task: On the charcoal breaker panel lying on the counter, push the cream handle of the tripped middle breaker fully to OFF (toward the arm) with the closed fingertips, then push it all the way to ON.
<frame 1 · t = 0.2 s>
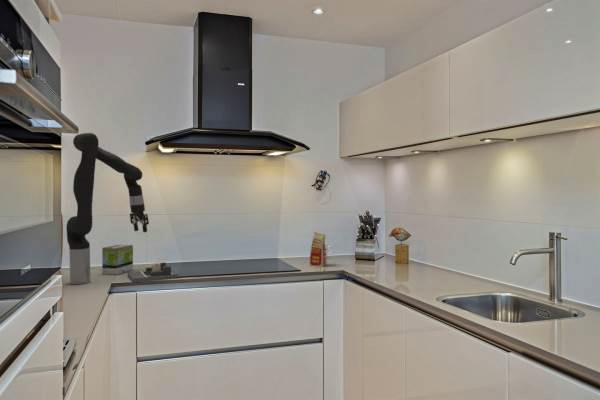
hand: (140, 231, 257), 22 cm above the worktop, tool pointing down, fingers open, 8 cm apart
red food bag: (318, 265, 269), on the worktop
breaker panel: (152, 277, 239), on the worktop
tea box: (118, 272, 255), on the worktop
tripped breaker: (156, 268, 240), point 5 cm above the worktop, slide at 4.0 cm
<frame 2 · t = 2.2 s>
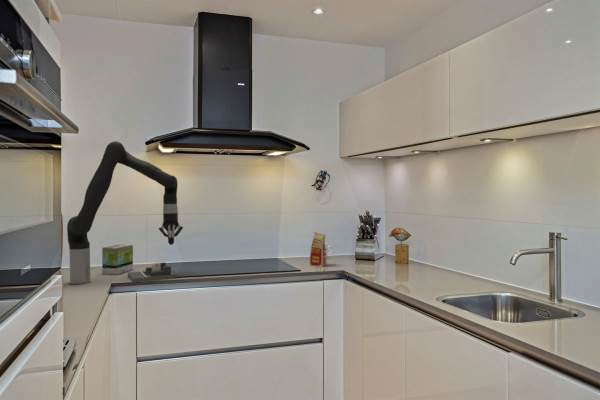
hand: (171, 244, 243), 17 cm above the worktop, tool pointing down, fingers closed
nothing on the worktop moved.
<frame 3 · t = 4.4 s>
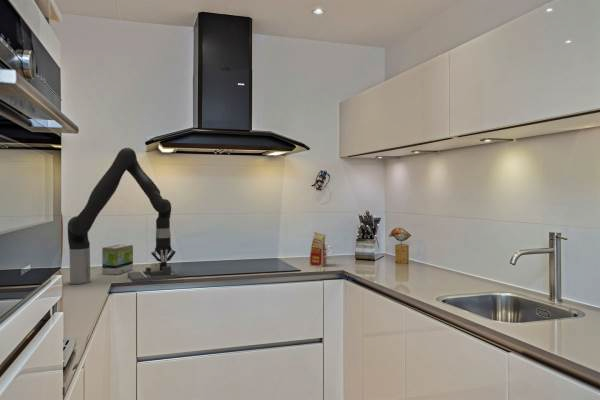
hand: (163, 268, 242), 4 cm above the worktop, tool pointing down, fingers closed
tripped breaker: (155, 268, 239), point 5 cm above the worktop, slide at 3.5 cm, touching gripper
everything else where it was.
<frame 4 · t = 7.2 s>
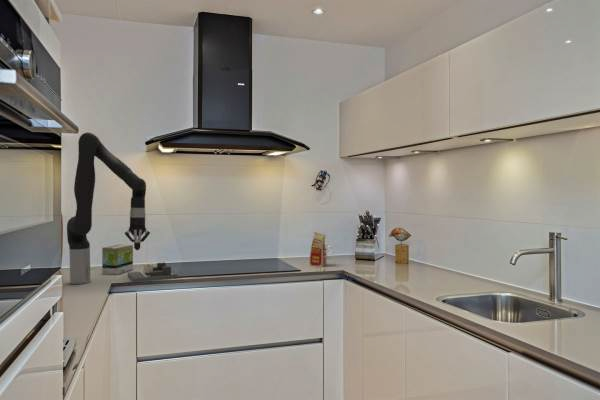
hand: (137, 249, 234), 15 cm above the worktop, tool pointing down, fingers closed
tripped breaker: (148, 268, 238), point 5 cm above the worktop, slide at 0.0 cm
everything else where it was.
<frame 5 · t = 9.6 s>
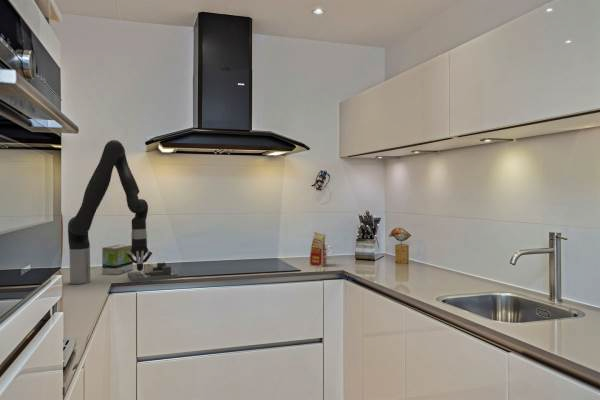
hand: (139, 270, 236), 4 cm above the worktop, tool pointing down, fingers closed
tripped breaker: (148, 268, 238), point 5 cm above the worktop, slide at 0.0 cm, touching gripper
everything else where it was.
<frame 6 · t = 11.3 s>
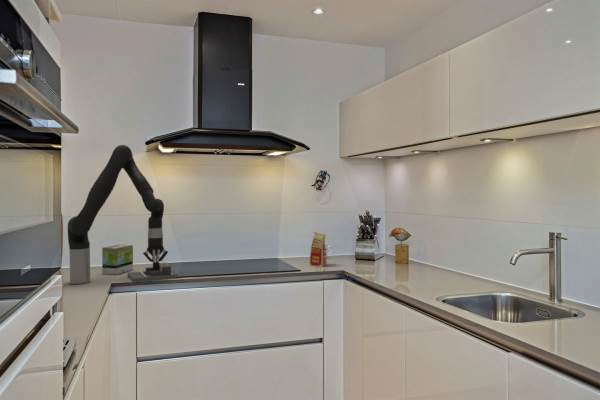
hand: (155, 269, 239), 4 cm above the worktop, tool pointing down, fingers closed
tripped breaker: (164, 267, 242), point 5 cm above the worktop, slide at 8.1 cm, touching gripper
everything else where it was.
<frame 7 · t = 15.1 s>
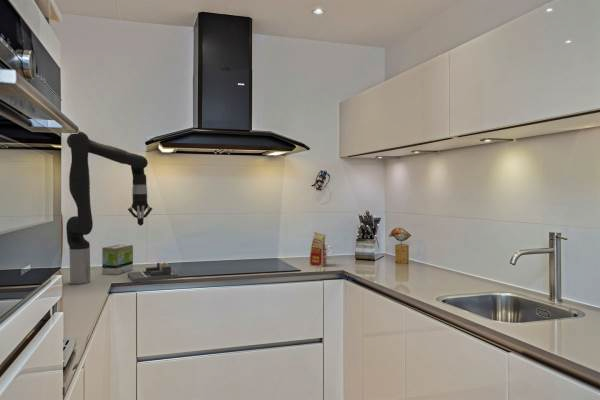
hand: (140, 225, 244), 27 cm above the worktop, tool pointing down, fingers closed
tripped breaker: (163, 267, 242), point 5 cm above the worktop, slide at 8.0 cm
everything else where it was.
at the end: tripped breaker slide at 8.0 cm; tripped breaker touching nothing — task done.
